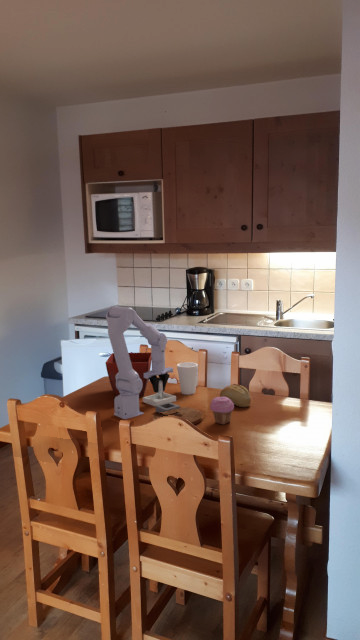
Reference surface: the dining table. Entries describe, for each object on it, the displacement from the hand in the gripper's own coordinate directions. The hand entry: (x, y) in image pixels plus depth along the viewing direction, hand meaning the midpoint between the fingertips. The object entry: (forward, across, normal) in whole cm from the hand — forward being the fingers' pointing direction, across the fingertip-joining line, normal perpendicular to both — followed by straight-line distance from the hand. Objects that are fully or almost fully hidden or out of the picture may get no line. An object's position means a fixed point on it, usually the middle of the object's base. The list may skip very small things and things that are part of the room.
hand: (159, 391), depth 219 cm
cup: (+5, -6, -13) cm, 15 cm away
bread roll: (+5, +22, -24) cm, 33 cm away
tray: (+5, 0, 0) cm, 5 cm away
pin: (+3, 0, 0) cm, 3 cm away
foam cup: (+5, +18, +2) cm, 19 cm away
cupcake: (+5, +2, -36) cm, 36 cm away
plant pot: (+5, -1, +20) cm, 21 cm away
